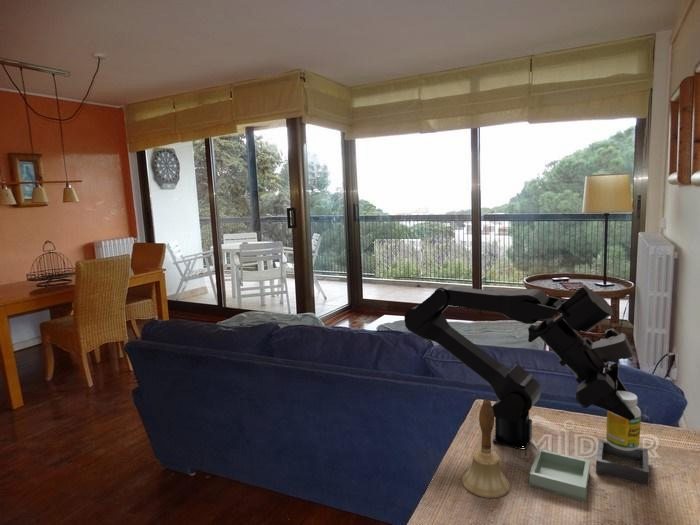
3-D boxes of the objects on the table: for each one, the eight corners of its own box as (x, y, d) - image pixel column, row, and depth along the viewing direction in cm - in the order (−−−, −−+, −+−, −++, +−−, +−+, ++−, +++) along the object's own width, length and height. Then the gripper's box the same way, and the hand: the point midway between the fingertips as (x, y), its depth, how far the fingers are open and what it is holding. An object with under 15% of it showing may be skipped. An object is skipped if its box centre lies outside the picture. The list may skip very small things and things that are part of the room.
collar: (595, 472, 86) (596, 460, 85) (598, 450, 92) (599, 439, 92) (648, 485, 81) (648, 472, 81) (646, 461, 88) (647, 449, 88)
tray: (529, 486, 83) (529, 473, 82) (538, 460, 90) (538, 448, 90) (585, 501, 78) (585, 488, 78) (589, 472, 86) (590, 460, 85)
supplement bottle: (615, 433, 90) (617, 386, 88) (644, 445, 86) (648, 396, 84) (599, 442, 87) (602, 394, 86) (630, 455, 83) (632, 404, 81)
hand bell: (510, 473, 87) (510, 392, 84) (509, 502, 79) (510, 414, 77) (464, 466, 90) (463, 388, 87) (459, 493, 82) (458, 408, 79)
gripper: (600, 334, 77) (677, 411, 73) (606, 307, 92) (669, 369, 89) (548, 371, 82) (617, 445, 78) (561, 340, 98) (619, 399, 94)
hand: (632, 411), depth 85 cm, fingers closed on supplement bottle, 5 cm apart
